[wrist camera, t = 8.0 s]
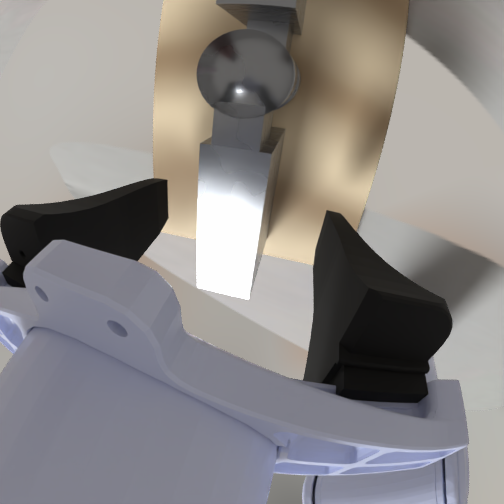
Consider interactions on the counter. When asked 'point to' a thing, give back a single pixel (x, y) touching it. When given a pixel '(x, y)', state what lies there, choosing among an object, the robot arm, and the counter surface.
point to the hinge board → (287, 113)
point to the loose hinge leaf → (239, 155)
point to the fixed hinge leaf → (270, 21)
